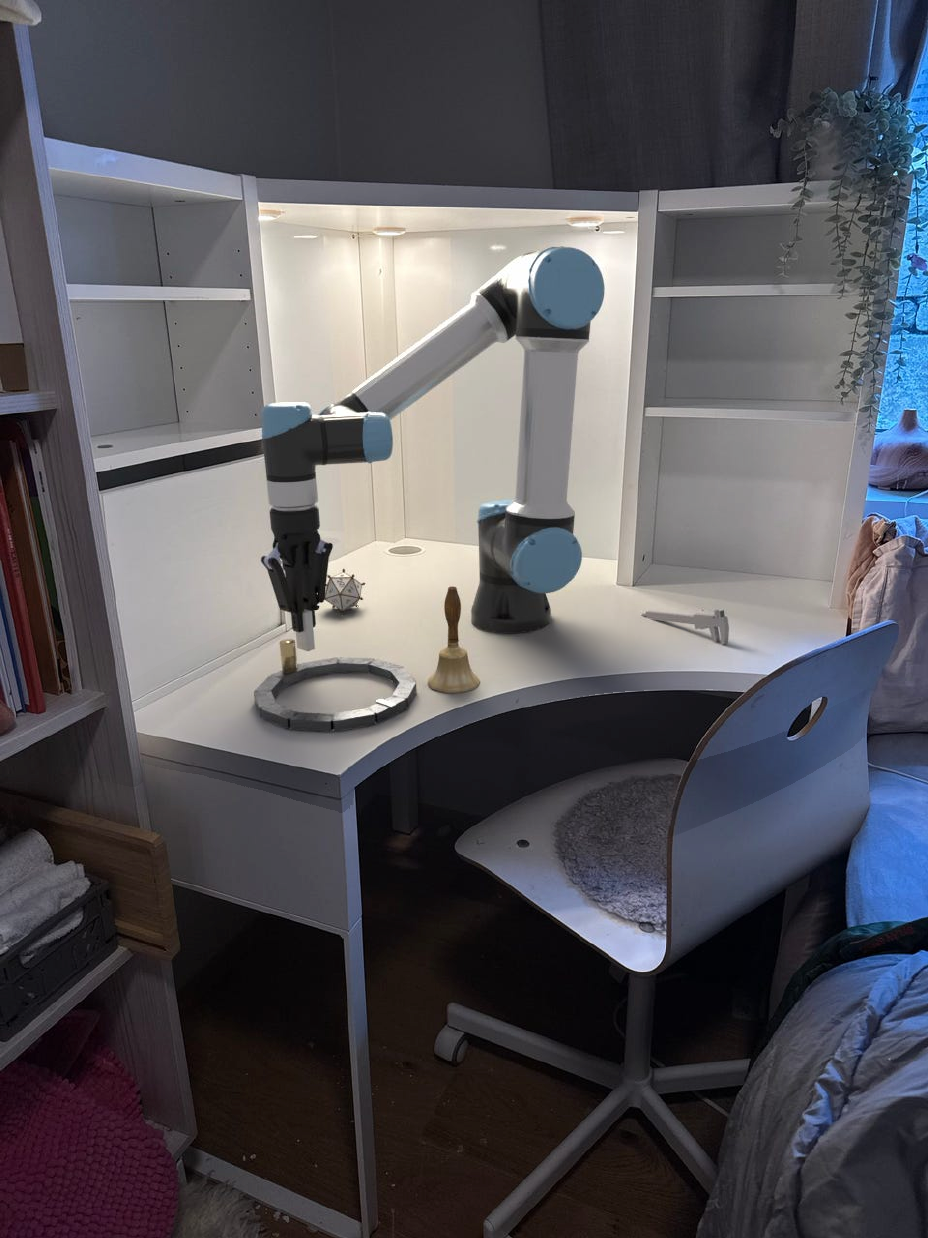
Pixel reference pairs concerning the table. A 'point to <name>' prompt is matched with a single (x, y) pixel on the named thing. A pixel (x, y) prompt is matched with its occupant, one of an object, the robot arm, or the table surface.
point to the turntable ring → (343, 664)
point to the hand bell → (453, 654)
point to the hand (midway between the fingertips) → (306, 648)
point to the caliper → (697, 622)
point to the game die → (343, 591)
